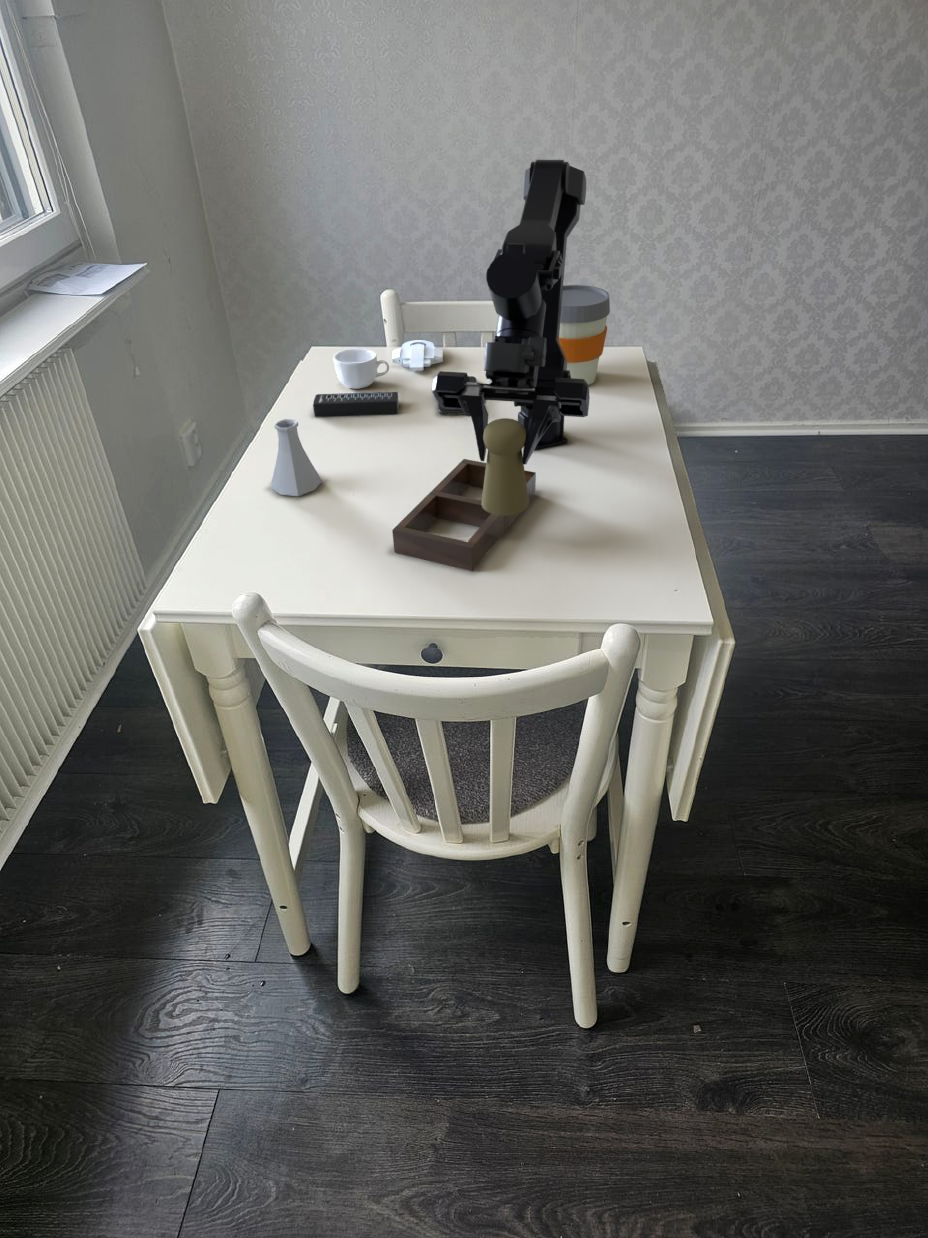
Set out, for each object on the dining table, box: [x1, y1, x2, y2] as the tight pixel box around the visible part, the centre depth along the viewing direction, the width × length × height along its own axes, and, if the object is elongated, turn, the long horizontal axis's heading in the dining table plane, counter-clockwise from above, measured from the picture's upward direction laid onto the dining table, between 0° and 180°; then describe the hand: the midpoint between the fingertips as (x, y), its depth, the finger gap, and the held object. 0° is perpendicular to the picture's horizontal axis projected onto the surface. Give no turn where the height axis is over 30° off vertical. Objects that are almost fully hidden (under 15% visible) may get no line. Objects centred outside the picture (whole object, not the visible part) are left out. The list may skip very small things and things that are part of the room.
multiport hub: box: [312, 391, 400, 418], centre depth 148 cm, size 4×14×2 cm, turn 90°
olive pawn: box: [481, 417, 530, 516], centre depth 105 cm, size 6×6×11 cm
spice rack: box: [391, 458, 537, 572], centre depth 117 cm, size 22×11×4 cm, turn 155°
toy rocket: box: [391, 339, 444, 372], centre depth 167 cm, size 16×10×2 cm, turn 1°
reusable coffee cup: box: [559, 284, 611, 386], centre depth 153 cm, size 13×13×15 cm
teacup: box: [333, 348, 390, 390], centre depth 157 cm, size 10×8×5 cm
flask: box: [270, 418, 323, 497], centre depth 125 cm, size 7×7×10 cm
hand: (502, 461), depth 103 cm, fingers closed on olive pawn, 5 cm apart
